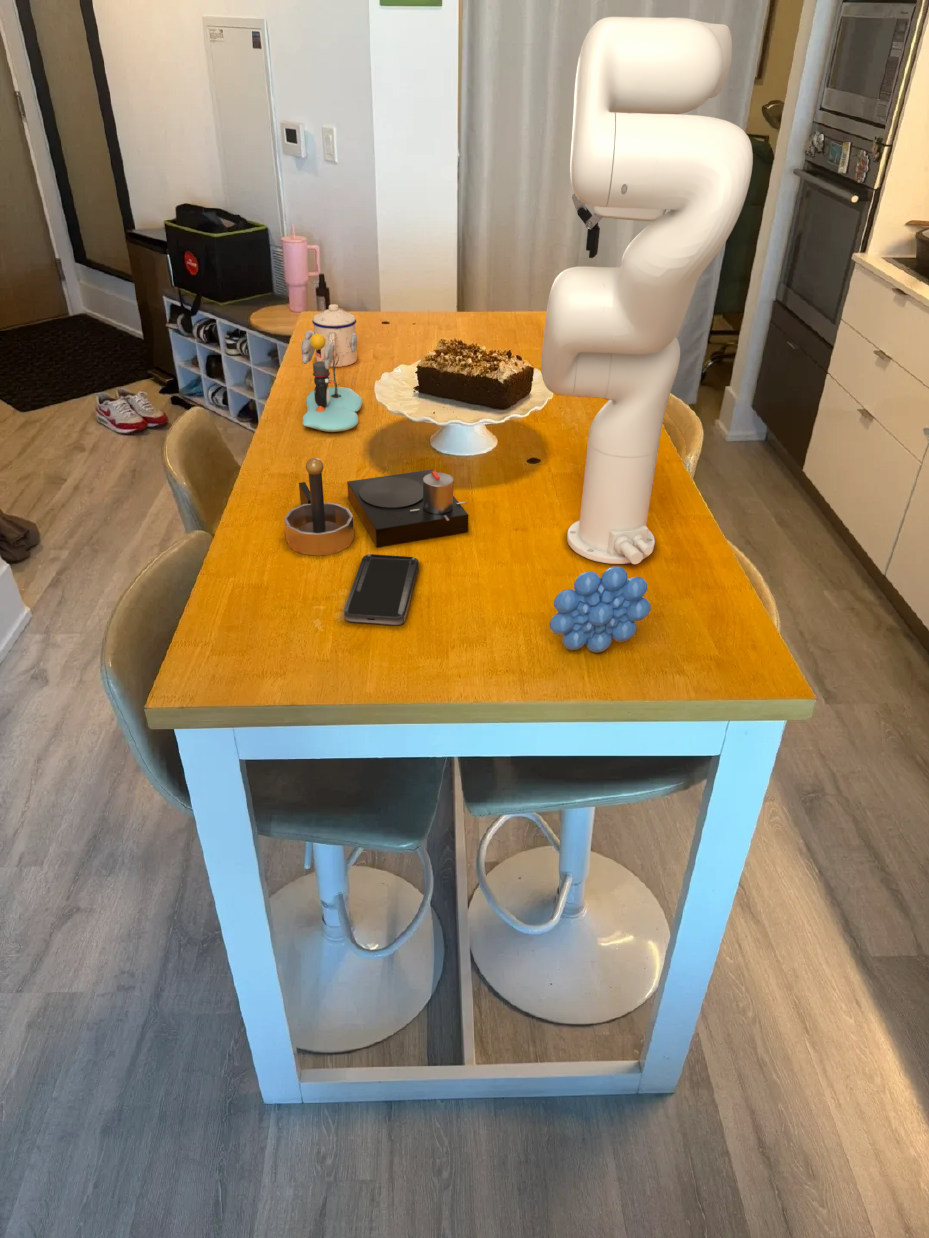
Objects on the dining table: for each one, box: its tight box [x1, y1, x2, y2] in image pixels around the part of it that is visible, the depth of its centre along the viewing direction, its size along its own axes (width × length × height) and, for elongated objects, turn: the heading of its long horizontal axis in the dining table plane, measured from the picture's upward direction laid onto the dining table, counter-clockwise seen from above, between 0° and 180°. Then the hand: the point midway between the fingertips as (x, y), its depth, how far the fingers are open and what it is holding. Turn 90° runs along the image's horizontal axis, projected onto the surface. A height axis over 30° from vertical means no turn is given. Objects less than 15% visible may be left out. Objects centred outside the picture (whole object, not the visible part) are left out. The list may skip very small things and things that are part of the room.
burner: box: [359, 477, 423, 508], centre depth 137 cm, size 10×10×1 cm
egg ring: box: [283, 481, 355, 557], centre depth 132 cm, size 16×9×4 cm, turn 21°
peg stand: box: [299, 457, 340, 533], centre depth 127 cm, size 6×6×13 cm
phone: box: [343, 553, 420, 626], centre depth 119 cm, size 8×1×15 cm
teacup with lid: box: [311, 303, 358, 368], centre depth 189 cm, size 12×9×12 cm
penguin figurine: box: [300, 330, 363, 433], centre depth 164 cm, size 20×11×15 cm, turn 1°
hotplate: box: [346, 468, 469, 548], centre depth 136 cm, size 17×15×3 cm
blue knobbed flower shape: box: [549, 565, 652, 654], centre depth 107 cm, size 12×7×12 cm, turn 89°
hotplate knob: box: [423, 470, 454, 514], centre depth 132 cm, size 4×4×5 cm
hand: (624, 259), depth 135 cm, fingers open, 9 cm apart
